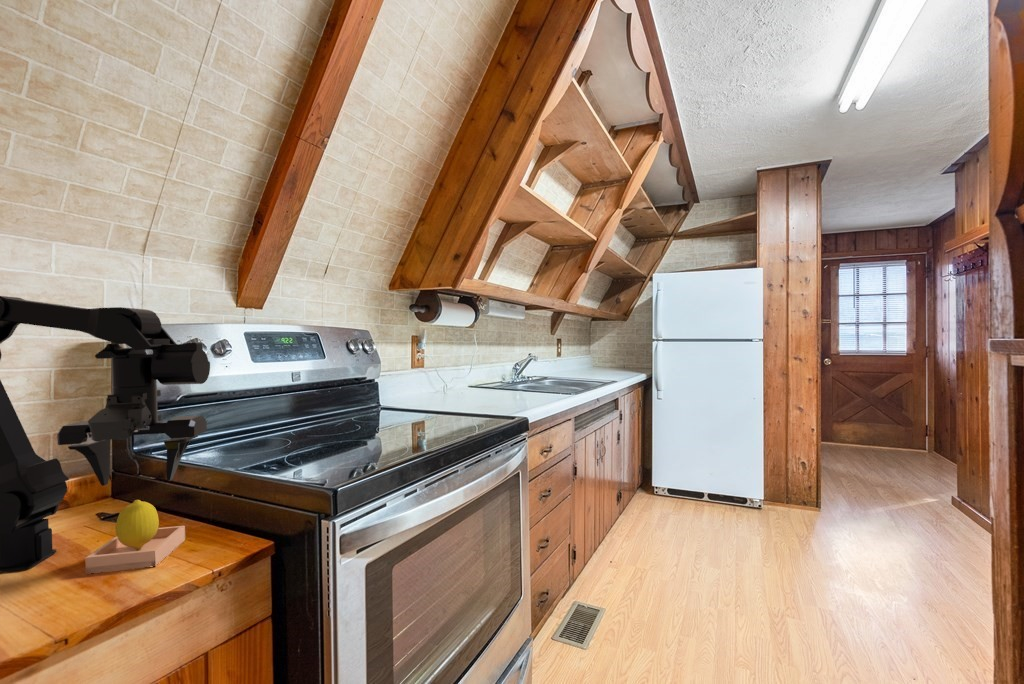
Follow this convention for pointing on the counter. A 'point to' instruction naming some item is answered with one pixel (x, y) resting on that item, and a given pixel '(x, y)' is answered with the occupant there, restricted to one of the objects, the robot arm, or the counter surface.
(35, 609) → the counter surface
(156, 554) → the dish
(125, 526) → the lemon
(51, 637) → the counter surface
